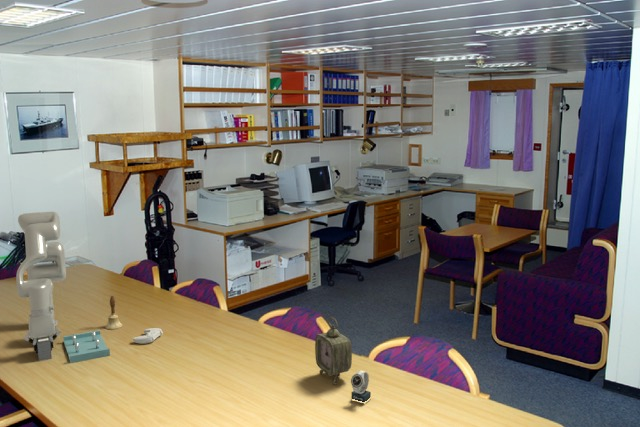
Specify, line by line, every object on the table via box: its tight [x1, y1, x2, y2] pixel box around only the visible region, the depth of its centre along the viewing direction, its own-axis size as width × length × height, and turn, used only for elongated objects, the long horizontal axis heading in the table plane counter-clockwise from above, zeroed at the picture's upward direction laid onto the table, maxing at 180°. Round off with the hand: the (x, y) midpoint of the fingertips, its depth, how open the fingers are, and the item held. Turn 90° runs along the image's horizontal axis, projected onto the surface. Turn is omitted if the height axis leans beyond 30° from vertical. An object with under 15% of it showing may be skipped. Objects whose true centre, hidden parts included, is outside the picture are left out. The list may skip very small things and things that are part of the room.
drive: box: [36, 336, 53, 362], centre depth 252 cm, size 12×5×8 cm, turn 30°
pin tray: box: [62, 329, 111, 364], centre depth 259 cm, size 26×16×5 cm, turn 30°
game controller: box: [132, 327, 164, 345], centre depth 270 cm, size 14×4×10 cm
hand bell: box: [104, 295, 123, 330], centre depth 285 cm, size 8×8×16 cm
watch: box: [350, 369, 371, 402], centre depth 210 cm, size 6×8×11 cm
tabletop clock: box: [314, 317, 353, 385], centre depth 227 cm, size 14×9×25 cm, turn 29°
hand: (43, 350), depth 252 cm, fingers closed on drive, 5 cm apart
